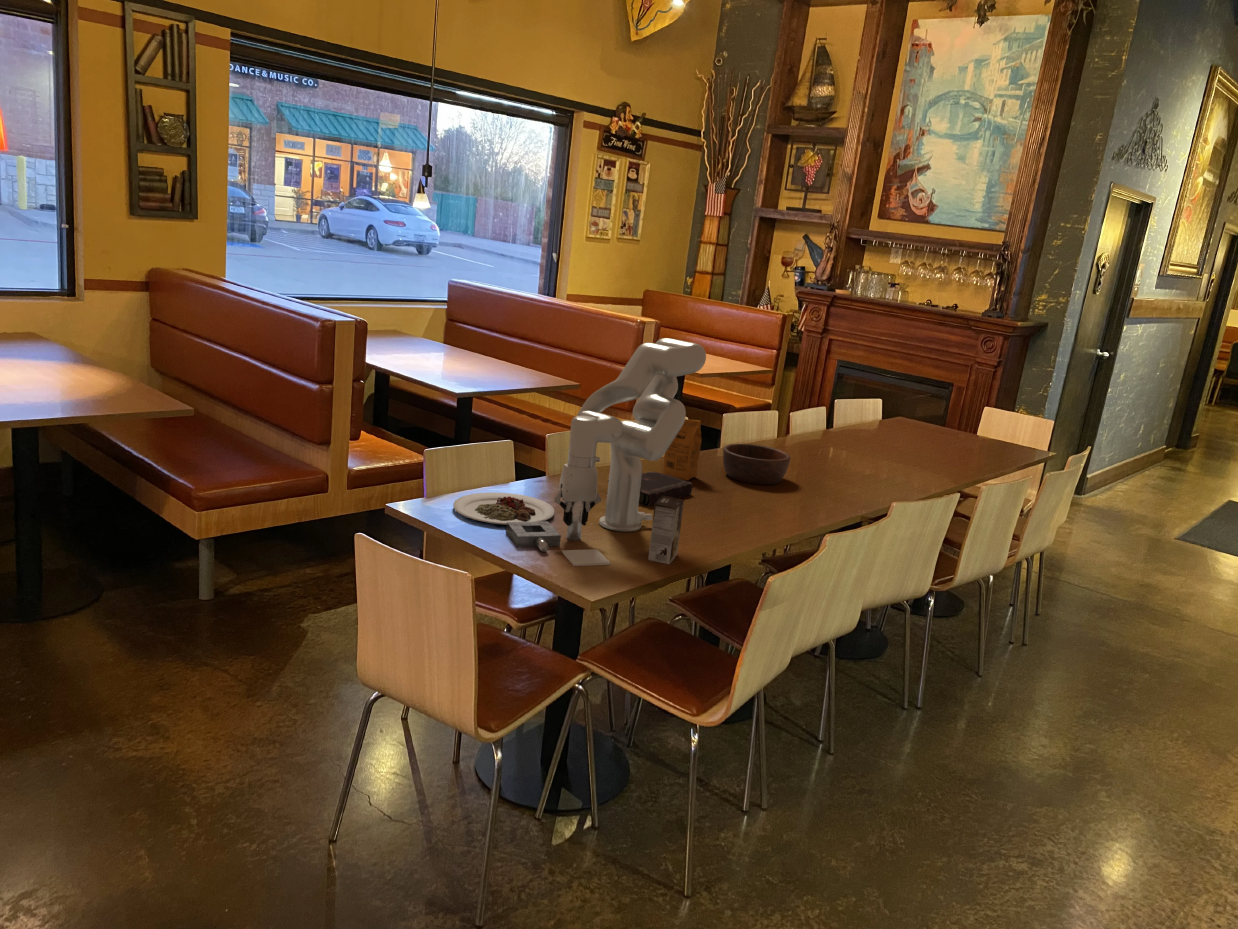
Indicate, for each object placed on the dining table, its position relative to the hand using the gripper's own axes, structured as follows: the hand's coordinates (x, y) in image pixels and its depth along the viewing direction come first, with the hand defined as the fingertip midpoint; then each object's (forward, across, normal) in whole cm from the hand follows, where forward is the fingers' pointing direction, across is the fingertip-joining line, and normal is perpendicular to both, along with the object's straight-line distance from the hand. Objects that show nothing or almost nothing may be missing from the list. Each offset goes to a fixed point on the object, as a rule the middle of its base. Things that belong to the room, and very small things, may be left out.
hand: (575, 523), depth 263 cm
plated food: (+5, +14, -24) cm, 28 cm away
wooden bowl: (+5, -92, -61) cm, 110 cm away
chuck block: (+4, +12, +2) cm, 13 cm away
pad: (+4, +2, +16) cm, 17 cm away
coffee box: (+5, -20, +17) cm, 27 cm away
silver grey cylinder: (+4, 0, 0) cm, 4 cm away
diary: (+5, -41, -41) cm, 58 cm away
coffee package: (+4, -62, -63) cm, 89 cm away
